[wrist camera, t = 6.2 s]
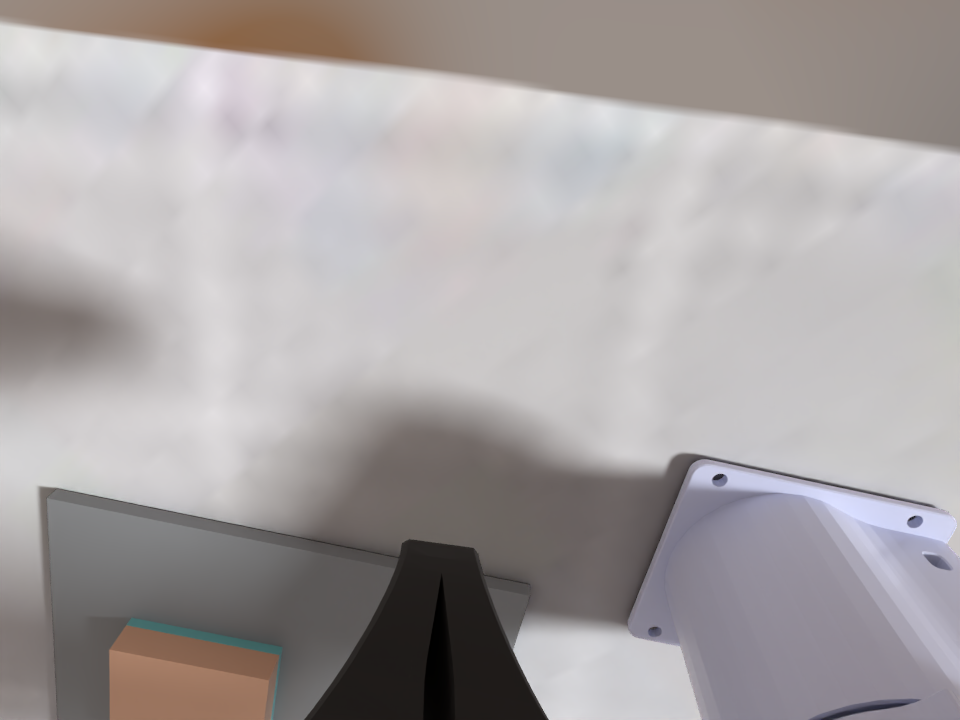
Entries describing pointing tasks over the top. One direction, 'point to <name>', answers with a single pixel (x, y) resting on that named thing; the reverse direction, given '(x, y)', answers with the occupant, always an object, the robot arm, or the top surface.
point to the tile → (190, 675)
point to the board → (212, 595)
